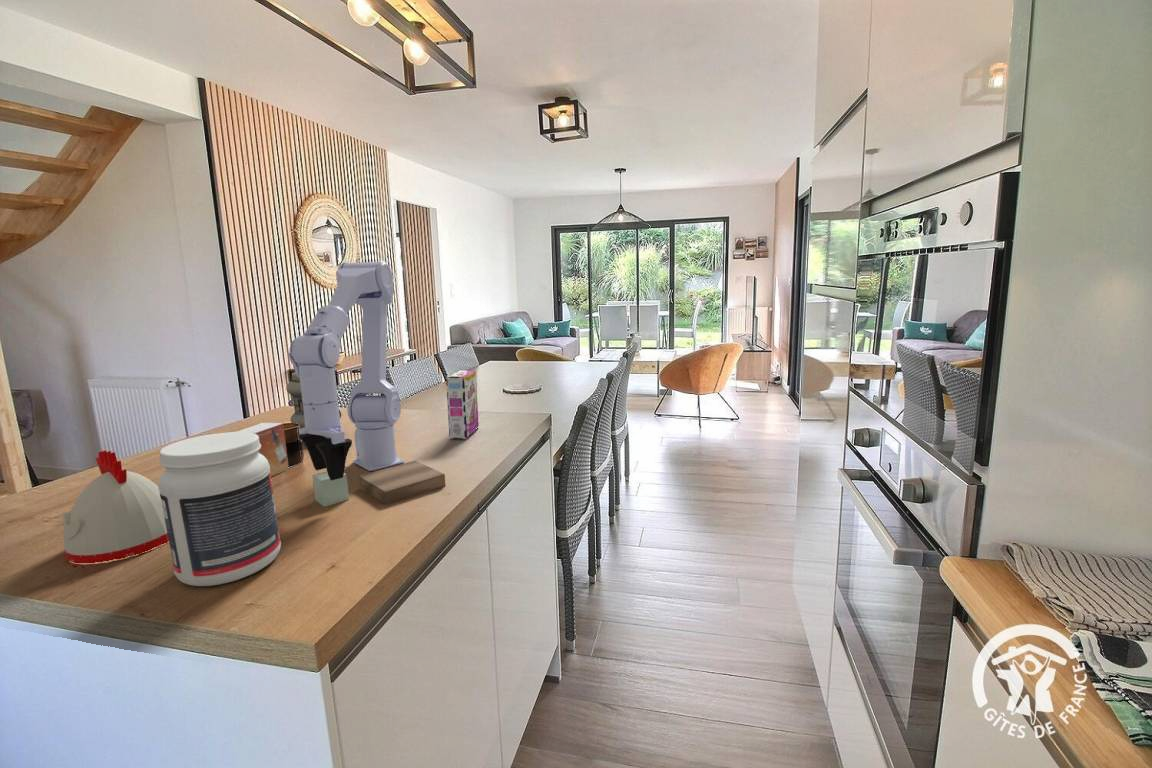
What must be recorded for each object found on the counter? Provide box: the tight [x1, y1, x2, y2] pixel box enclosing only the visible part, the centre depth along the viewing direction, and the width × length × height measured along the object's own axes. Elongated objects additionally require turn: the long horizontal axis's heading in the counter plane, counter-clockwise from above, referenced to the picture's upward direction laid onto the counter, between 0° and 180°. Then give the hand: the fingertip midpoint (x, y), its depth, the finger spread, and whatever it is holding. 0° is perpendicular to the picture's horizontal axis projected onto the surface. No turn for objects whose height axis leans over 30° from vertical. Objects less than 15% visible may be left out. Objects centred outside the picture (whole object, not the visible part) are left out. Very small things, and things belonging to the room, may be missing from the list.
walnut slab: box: [358, 460, 446, 506], centre depth 103 cm, size 12×12×3 cm
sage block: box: [312, 470, 350, 507], centre depth 98 cm, size 4×4×5 cm
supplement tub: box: [157, 431, 282, 587], centre depth 73 cm, size 13×13×18 cm
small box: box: [235, 422, 289, 478], centre depth 111 cm, size 8×6×10 cm
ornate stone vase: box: [286, 371, 342, 444], centre depth 138 cm, size 12×12×18 cm
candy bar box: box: [445, 369, 479, 440], centre depth 138 cm, size 11×5×16 cm, turn 174°
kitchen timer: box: [62, 449, 169, 563], centre depth 82 cm, size 14×14×15 cm
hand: (328, 473), depth 97 cm, fingers open, 7 cm apart
